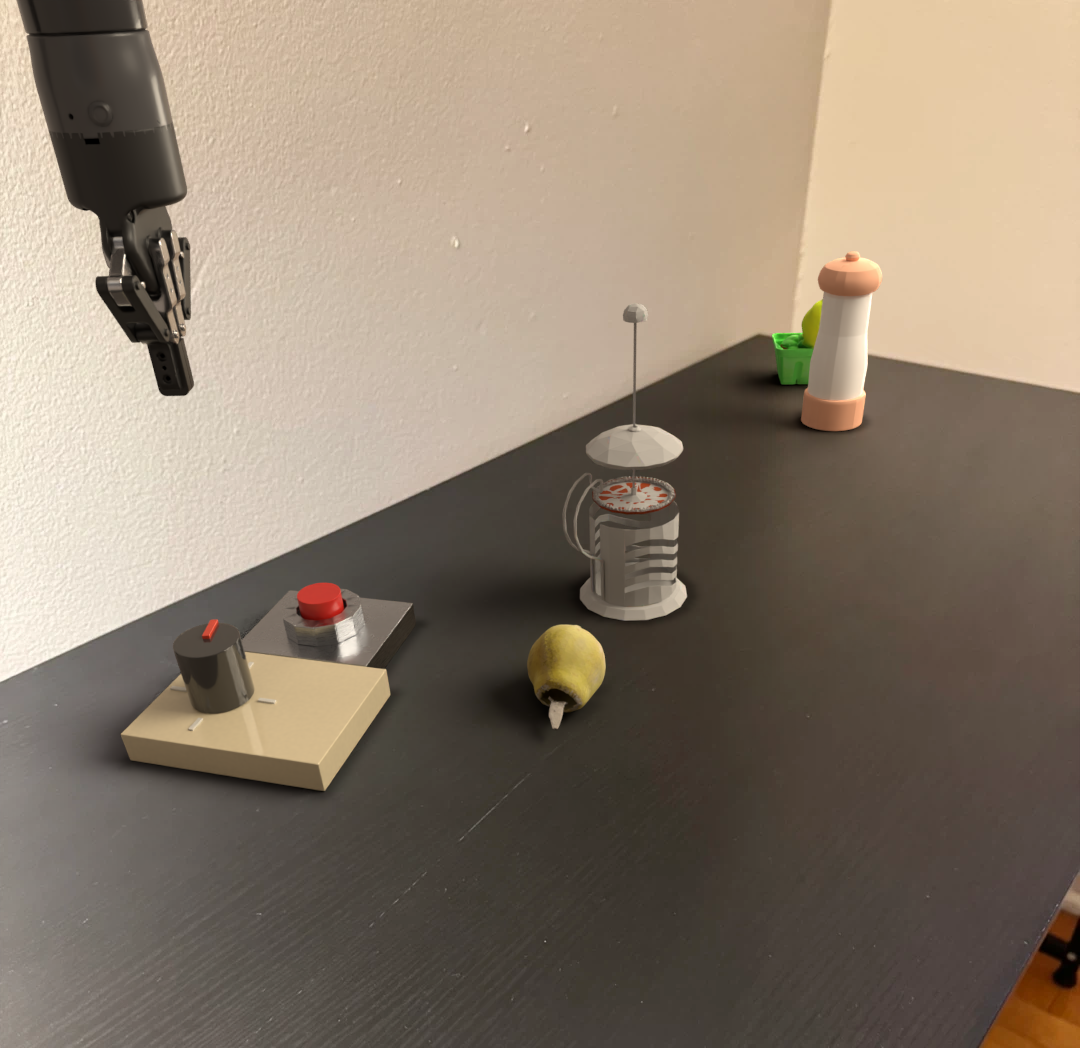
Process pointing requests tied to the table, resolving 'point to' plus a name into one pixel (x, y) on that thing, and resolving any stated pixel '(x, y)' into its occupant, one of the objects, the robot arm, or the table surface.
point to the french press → (617, 575)
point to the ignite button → (320, 601)
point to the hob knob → (214, 667)
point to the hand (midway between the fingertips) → (177, 392)
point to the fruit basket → (797, 348)
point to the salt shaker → (841, 345)
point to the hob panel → (266, 723)
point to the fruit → (565, 669)
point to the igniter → (335, 631)
